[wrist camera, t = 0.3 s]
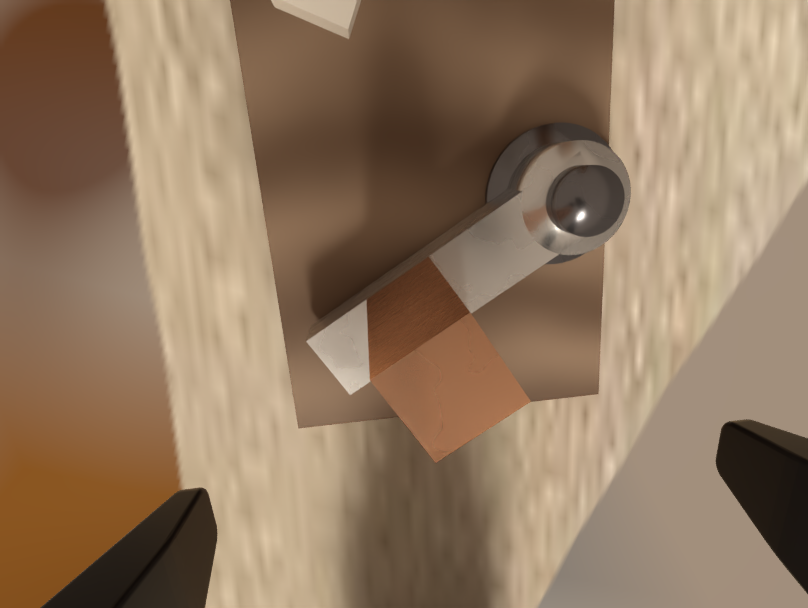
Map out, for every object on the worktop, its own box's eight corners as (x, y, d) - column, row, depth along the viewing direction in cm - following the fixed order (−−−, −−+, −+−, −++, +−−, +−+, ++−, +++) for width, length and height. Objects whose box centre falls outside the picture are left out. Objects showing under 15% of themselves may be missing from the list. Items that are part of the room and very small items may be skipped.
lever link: (622, 209, 21) (822, 242, 12) (360, 386, 22) (359, 538, 13) (576, 120, 20) (759, 82, 11) (301, 313, 21) (255, 425, 12)
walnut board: (587, 383, 25) (598, 393, 24) (301, 415, 24) (298, 428, 23) (606, -183, 18) (622, -206, 17) (210, -168, 17) (199, -191, 16)
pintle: (614, 256, 22) (662, 273, 19) (487, 268, 22) (511, 288, 18) (621, 118, 20) (675, 107, 17) (482, 128, 20) (509, 121, 16)
